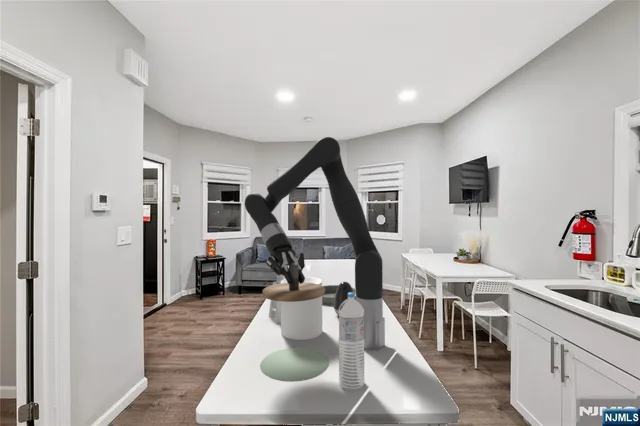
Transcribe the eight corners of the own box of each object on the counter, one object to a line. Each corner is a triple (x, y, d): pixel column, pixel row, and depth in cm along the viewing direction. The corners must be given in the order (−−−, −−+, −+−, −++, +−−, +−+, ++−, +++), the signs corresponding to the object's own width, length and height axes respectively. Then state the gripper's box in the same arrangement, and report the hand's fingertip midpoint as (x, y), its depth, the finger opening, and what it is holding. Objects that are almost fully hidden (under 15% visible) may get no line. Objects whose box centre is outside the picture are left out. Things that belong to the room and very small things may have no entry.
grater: (277, 324, 131) (276, 276, 130) (268, 316, 140) (268, 272, 140) (299, 319, 136) (299, 273, 135) (290, 312, 145) (290, 269, 145)
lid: (335, 289, 99) (335, 262, 99) (302, 305, 83) (302, 273, 83) (287, 283, 109) (286, 258, 109) (249, 296, 92) (248, 267, 92)
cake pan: (306, 295, 176) (305, 287, 176) (346, 291, 184) (346, 283, 183) (319, 308, 153) (318, 298, 153) (364, 303, 160) (364, 294, 160)
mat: (340, 358, 100) (340, 356, 100) (304, 391, 82) (304, 389, 82) (287, 344, 110) (287, 342, 110) (245, 371, 92) (245, 369, 92)
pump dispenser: (331, 318, 137) (331, 283, 137) (335, 311, 147) (335, 278, 147) (354, 320, 134) (354, 285, 134) (357, 312, 144) (357, 279, 144)
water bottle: (348, 376, 89) (347, 288, 89) (369, 384, 85) (368, 292, 85) (333, 386, 84) (333, 293, 84) (355, 396, 79) (354, 298, 79)
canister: (326, 327, 127) (326, 278, 126) (315, 343, 111) (315, 287, 111) (289, 323, 131) (289, 276, 131) (274, 338, 116) (273, 284, 115)
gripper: (260, 233, 97) (283, 279, 88) (297, 231, 106) (321, 272, 97) (252, 249, 101) (273, 294, 92) (289, 245, 110) (311, 286, 101)
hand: (297, 282), depth 94 cm, fingers closed on lid, 3 cm apart
